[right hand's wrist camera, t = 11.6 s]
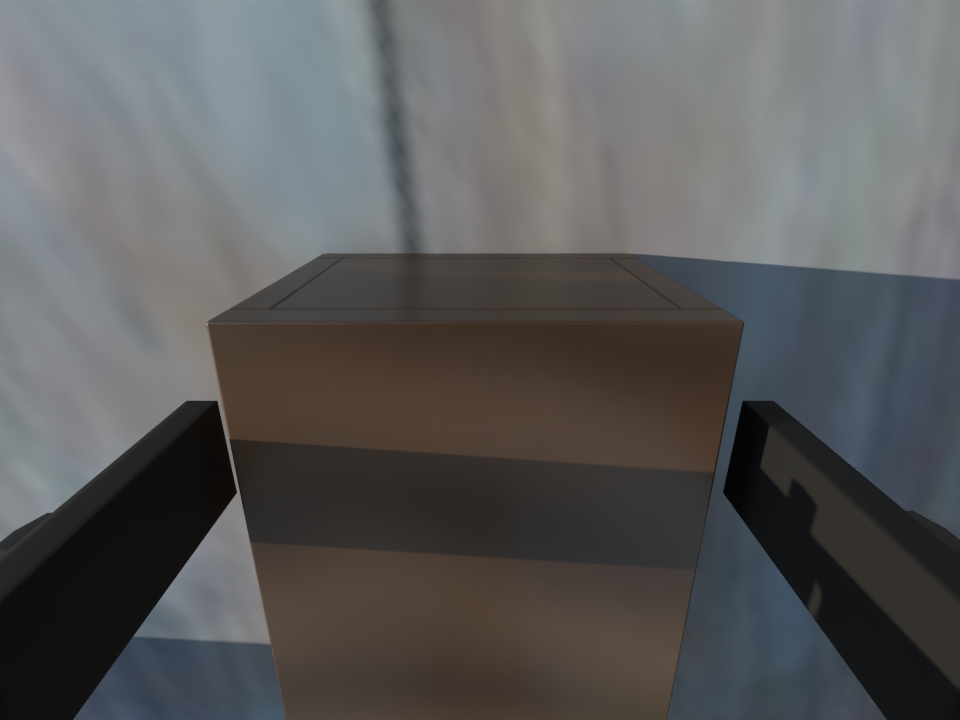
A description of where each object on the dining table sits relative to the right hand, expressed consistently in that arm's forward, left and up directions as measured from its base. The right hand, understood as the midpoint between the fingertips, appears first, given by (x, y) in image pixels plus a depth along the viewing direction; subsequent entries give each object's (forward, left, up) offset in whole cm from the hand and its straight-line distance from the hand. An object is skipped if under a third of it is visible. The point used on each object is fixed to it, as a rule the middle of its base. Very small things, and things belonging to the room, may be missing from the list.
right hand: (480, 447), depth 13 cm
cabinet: (+4, +6, -7) cm, 9 cm away
